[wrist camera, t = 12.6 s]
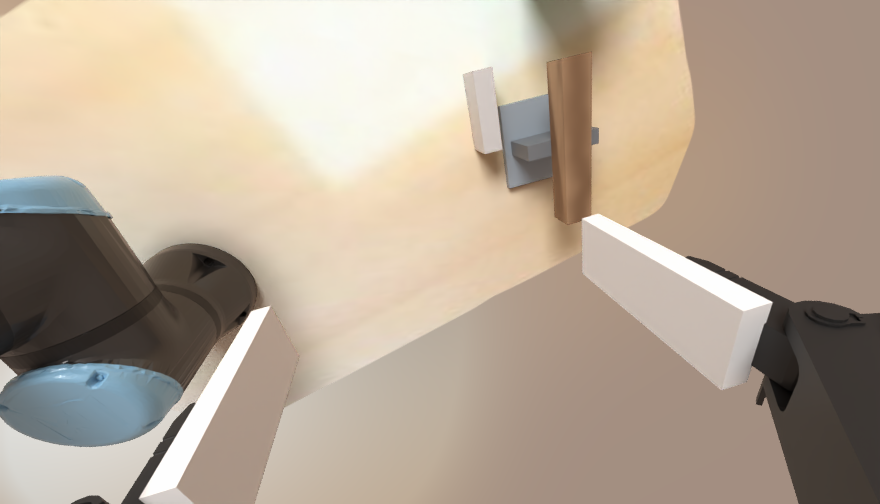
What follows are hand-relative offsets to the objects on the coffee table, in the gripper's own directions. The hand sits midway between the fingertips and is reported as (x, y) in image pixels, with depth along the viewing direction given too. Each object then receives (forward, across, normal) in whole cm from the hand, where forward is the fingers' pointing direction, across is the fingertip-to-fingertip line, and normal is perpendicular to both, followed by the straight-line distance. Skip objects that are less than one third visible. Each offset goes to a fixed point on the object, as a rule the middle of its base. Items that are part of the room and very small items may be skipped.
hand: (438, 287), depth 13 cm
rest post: (+37, +13, +3) cm, 39 cm away
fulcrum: (+37, +22, -3) cm, 43 cm away
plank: (+30, +22, -3) cm, 37 cm away
